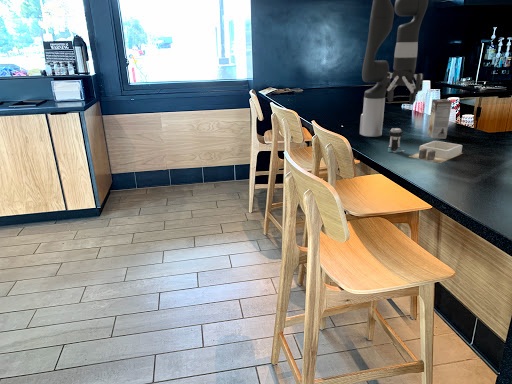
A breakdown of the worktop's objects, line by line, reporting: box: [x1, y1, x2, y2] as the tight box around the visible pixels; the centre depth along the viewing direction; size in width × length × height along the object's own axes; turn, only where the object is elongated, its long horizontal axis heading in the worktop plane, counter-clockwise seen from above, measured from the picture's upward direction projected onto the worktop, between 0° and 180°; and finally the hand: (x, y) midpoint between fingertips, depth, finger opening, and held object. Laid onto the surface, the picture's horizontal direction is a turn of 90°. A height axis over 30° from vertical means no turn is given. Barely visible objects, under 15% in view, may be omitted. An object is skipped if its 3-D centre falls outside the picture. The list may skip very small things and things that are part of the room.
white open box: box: [418, 140, 463, 159], centre depth 145 cm, size 11×12×3 cm
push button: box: [386, 127, 405, 153], centre depth 148 cm, size 7×5×10 cm
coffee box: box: [427, 98, 453, 140], centre depth 172 cm, size 9×6×16 cm
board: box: [408, 149, 464, 164], centre depth 143 cm, size 12×18×4 cm, turn 130°
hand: (400, 102), depth 143 cm, fingers open, 8 cm apart
